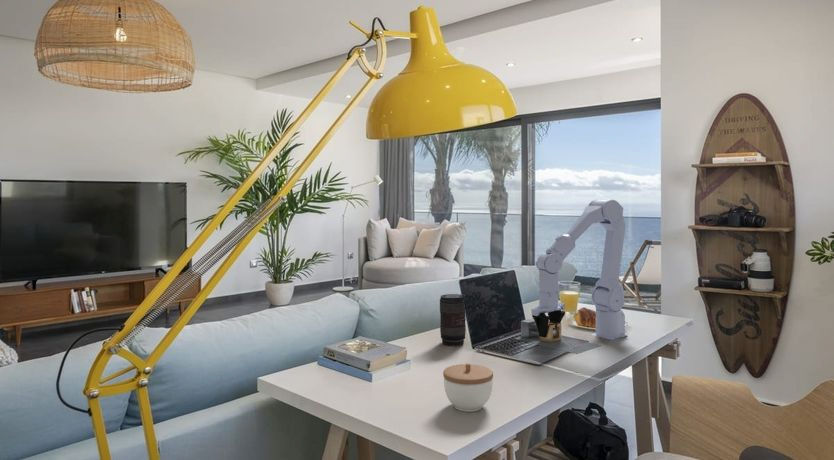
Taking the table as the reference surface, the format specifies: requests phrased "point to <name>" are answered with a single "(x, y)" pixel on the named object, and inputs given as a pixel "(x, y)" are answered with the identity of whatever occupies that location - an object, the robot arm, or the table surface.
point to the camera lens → (452, 319)
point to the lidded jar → (468, 386)
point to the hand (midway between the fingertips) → (548, 335)
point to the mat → (560, 345)
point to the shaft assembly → (531, 329)
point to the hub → (549, 336)
